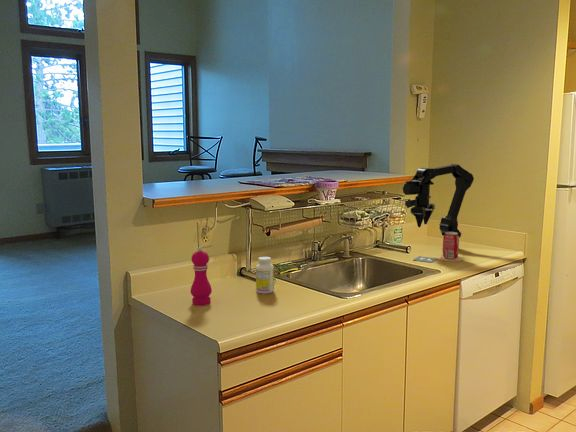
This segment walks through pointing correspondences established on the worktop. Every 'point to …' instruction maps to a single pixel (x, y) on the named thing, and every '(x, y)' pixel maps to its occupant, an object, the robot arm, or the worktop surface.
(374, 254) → the worktop surface
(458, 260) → the disc
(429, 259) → the coaster
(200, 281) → the pepper mill
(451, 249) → the soda can
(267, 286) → the supplement bottle
